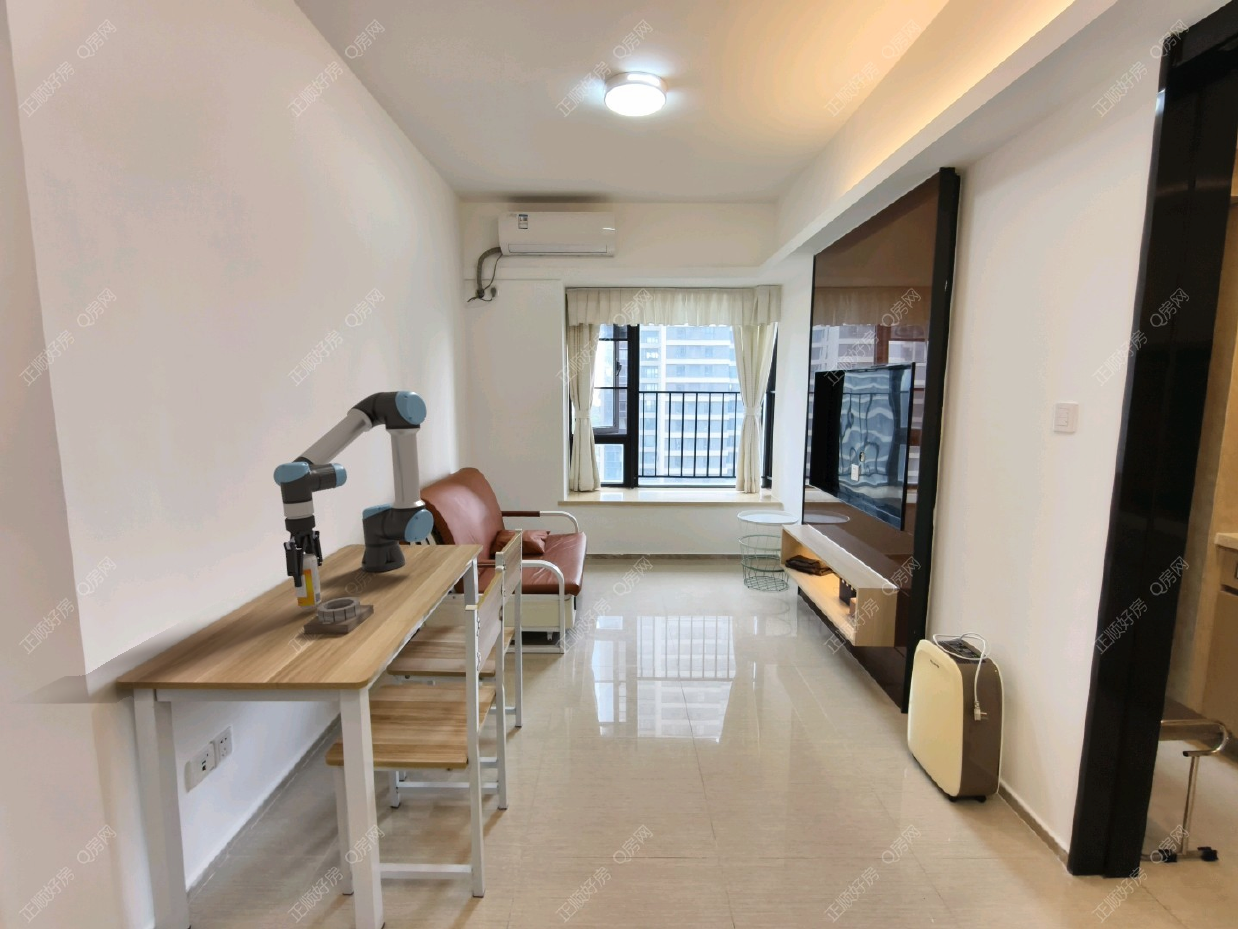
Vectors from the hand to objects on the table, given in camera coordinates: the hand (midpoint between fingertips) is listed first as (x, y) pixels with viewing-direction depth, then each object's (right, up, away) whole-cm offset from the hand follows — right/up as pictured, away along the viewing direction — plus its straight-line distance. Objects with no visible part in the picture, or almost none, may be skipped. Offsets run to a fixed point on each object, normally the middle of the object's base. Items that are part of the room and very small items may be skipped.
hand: (308, 592), depth 162 cm
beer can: (0, -4, +1) cm, 4 cm away
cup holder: (+14, -7, -8) cm, 17 cm away
